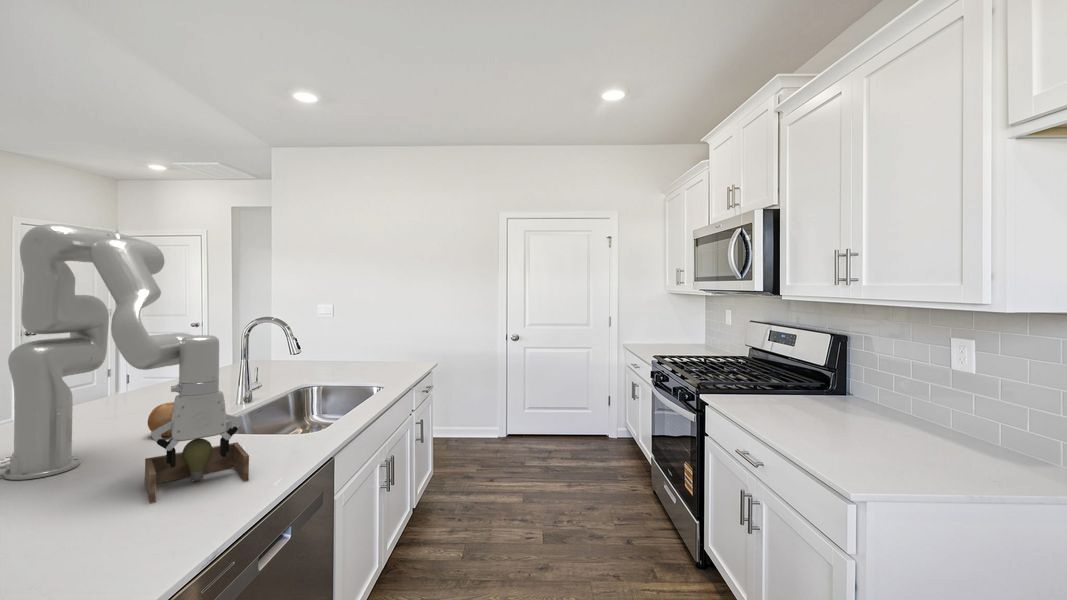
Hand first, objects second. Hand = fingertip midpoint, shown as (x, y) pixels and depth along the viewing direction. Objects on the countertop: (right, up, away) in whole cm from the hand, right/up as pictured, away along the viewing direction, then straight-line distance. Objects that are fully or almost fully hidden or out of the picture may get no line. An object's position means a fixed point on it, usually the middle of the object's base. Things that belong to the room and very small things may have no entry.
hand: (198, 460), depth 106 cm
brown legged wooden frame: (0, -5, -1) cm, 5 cm away
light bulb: (-1, -5, 0) cm, 5 cm away
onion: (-32, -4, +30) cm, 44 cm away
